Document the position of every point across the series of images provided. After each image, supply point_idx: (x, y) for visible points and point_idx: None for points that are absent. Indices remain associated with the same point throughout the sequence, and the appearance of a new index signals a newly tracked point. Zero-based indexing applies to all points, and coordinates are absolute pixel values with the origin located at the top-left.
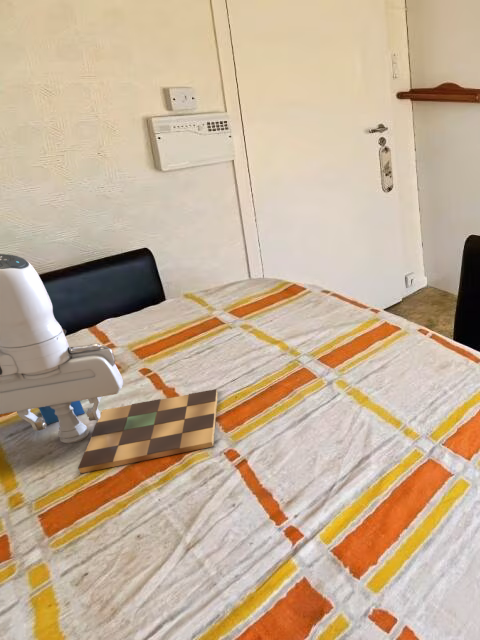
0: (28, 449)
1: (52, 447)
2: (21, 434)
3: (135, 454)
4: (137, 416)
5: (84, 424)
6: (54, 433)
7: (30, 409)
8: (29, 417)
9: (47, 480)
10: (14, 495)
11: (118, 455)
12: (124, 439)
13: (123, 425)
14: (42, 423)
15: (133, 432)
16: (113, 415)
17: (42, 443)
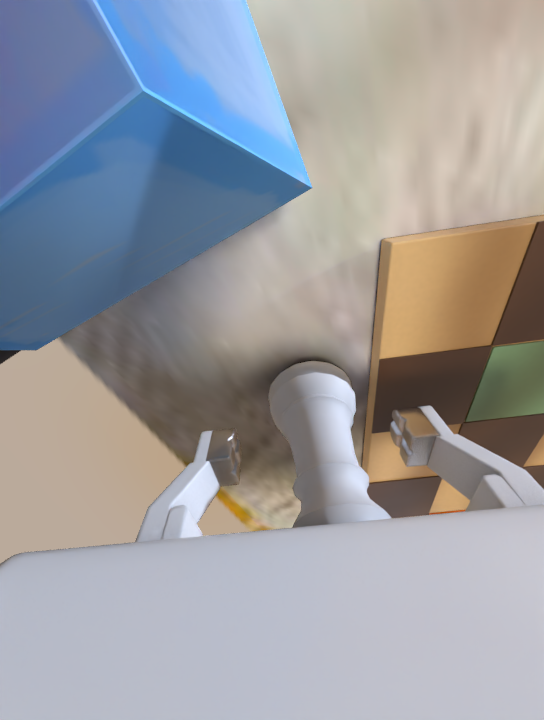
0: (191, 417)
1: (258, 421)
2: (94, 327)
3: None
4: (527, 352)
5: (350, 394)
6: (224, 349)
7: (192, 520)
8: (201, 508)
9: (300, 511)
10: (259, 530)
11: (439, 500)
12: None
13: (469, 399)
14: (239, 467)
15: (489, 437)
16: (441, 317)
17: (216, 397)
